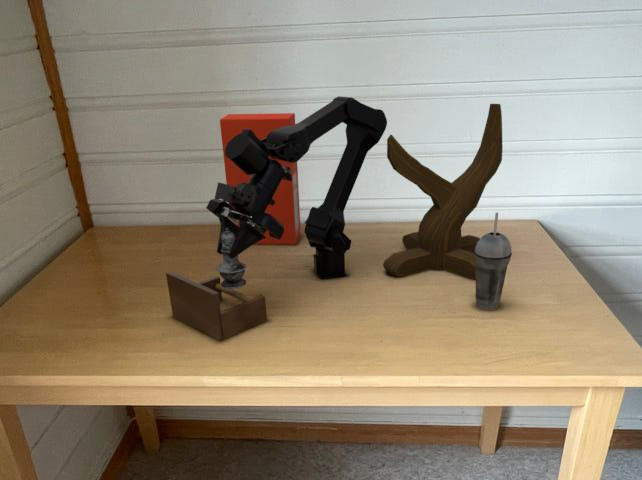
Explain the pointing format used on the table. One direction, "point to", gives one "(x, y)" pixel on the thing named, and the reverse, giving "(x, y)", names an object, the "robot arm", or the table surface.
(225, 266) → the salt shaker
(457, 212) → the wooden stand
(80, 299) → the table surface
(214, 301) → the spice rack
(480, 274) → the beverage cup
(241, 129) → the file binder
